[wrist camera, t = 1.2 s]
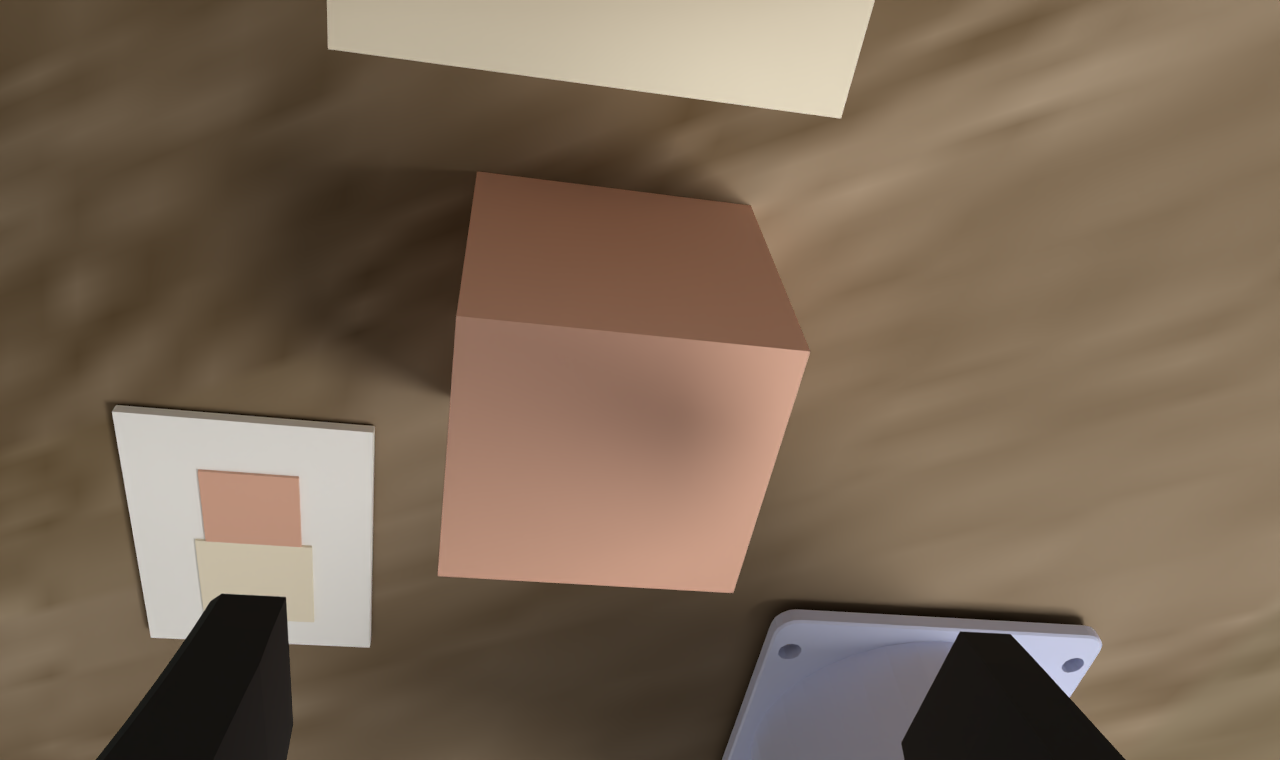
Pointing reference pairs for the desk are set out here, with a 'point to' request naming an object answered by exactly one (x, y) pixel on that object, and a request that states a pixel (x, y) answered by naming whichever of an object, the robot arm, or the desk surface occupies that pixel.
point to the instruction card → (251, 517)
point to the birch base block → (630, 44)
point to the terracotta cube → (613, 387)
